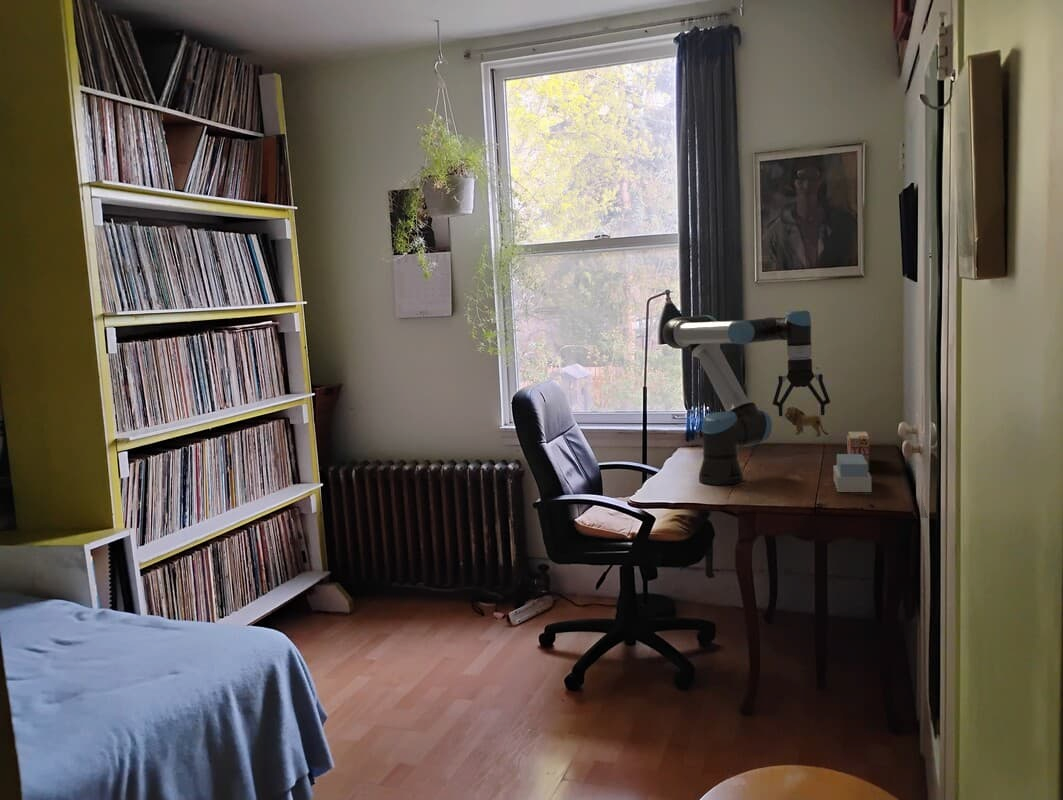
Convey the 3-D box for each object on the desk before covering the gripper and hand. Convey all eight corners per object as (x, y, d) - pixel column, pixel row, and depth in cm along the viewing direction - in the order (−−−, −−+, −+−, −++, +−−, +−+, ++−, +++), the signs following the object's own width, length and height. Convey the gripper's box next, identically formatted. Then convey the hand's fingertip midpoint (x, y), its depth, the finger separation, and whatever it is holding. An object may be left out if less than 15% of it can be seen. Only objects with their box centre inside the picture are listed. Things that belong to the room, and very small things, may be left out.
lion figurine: (782, 434, 280) (781, 407, 279) (791, 432, 283) (790, 405, 282) (824, 437, 269) (823, 409, 268) (832, 434, 273) (831, 407, 272)
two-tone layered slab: (837, 492, 268) (837, 465, 267) (833, 479, 286) (833, 453, 284) (871, 493, 266) (871, 465, 264) (865, 479, 283) (865, 453, 282)
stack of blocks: (847, 459, 316) (846, 427, 314) (865, 459, 314) (864, 427, 312) (850, 472, 296) (850, 437, 294) (869, 472, 294) (869, 437, 292)
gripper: (762, 360, 274) (765, 428, 277) (837, 357, 267) (839, 426, 270) (763, 359, 281) (765, 424, 284) (836, 355, 274) (838, 423, 277)
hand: (801, 425), depth 277 cm, fingers closed on lion figurine, 10 cm apart
